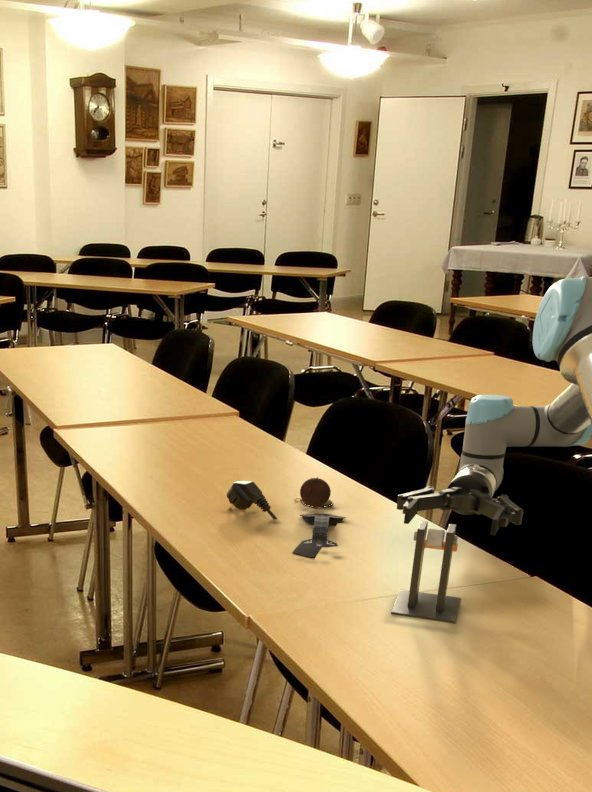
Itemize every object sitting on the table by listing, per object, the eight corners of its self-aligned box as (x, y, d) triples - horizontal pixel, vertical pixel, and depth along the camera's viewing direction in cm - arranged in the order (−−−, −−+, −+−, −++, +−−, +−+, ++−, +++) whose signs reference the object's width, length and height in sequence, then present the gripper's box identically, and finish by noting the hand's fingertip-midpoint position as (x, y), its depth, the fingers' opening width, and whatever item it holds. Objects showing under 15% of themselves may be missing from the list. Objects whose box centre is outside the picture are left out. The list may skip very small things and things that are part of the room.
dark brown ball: (334, 502, 194) (337, 469, 191) (327, 514, 187) (330, 479, 185) (296, 499, 197) (299, 466, 194) (289, 510, 191) (291, 476, 188)
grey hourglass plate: (291, 558, 164) (292, 540, 162) (299, 515, 185) (300, 499, 184) (343, 562, 161) (345, 544, 160) (346, 517, 183) (347, 501, 182)
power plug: (269, 519, 182) (232, 476, 186) (250, 543, 187) (215, 501, 192) (286, 513, 185) (250, 471, 189) (267, 536, 190) (233, 495, 195)
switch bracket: (399, 596, 146) (409, 514, 141) (459, 604, 142) (472, 520, 137) (390, 619, 138) (400, 532, 133) (453, 628, 134) (467, 540, 129)
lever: (419, 550, 147) (422, 536, 147) (456, 555, 145) (458, 540, 145) (414, 542, 136) (416, 527, 135) (453, 547, 133) (456, 531, 133)
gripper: (403, 463, 172) (375, 490, 156) (549, 478, 160) (536, 509, 143) (398, 501, 175) (370, 532, 158) (542, 519, 163) (528, 554, 146)
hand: (449, 521), depth 151 cm, fingers open, 13 cm apart
